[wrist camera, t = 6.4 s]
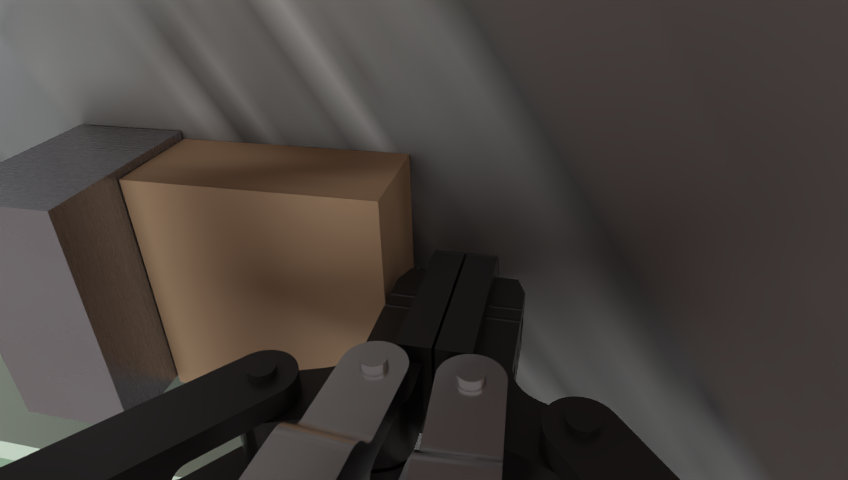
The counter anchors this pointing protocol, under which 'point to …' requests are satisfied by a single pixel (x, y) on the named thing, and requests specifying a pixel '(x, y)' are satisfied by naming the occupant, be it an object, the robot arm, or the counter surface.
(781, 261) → the counter surface
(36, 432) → the green tray
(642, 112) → the counter surface
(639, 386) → the counter surface
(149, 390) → the block
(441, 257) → the robot arm
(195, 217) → the brown square block
